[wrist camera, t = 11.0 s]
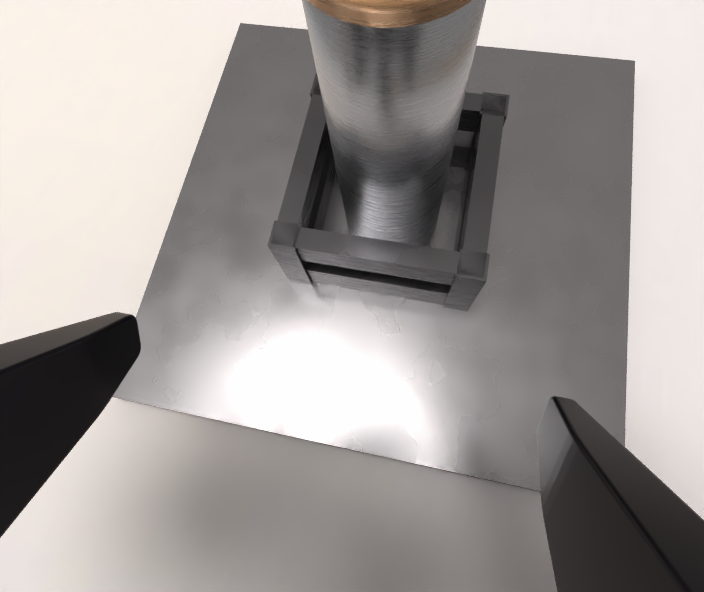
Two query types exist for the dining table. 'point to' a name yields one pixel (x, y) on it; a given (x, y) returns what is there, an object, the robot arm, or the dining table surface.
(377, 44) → the grey metal cylinder
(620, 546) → the robot arm
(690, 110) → the dining table surface
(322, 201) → the collar stand
